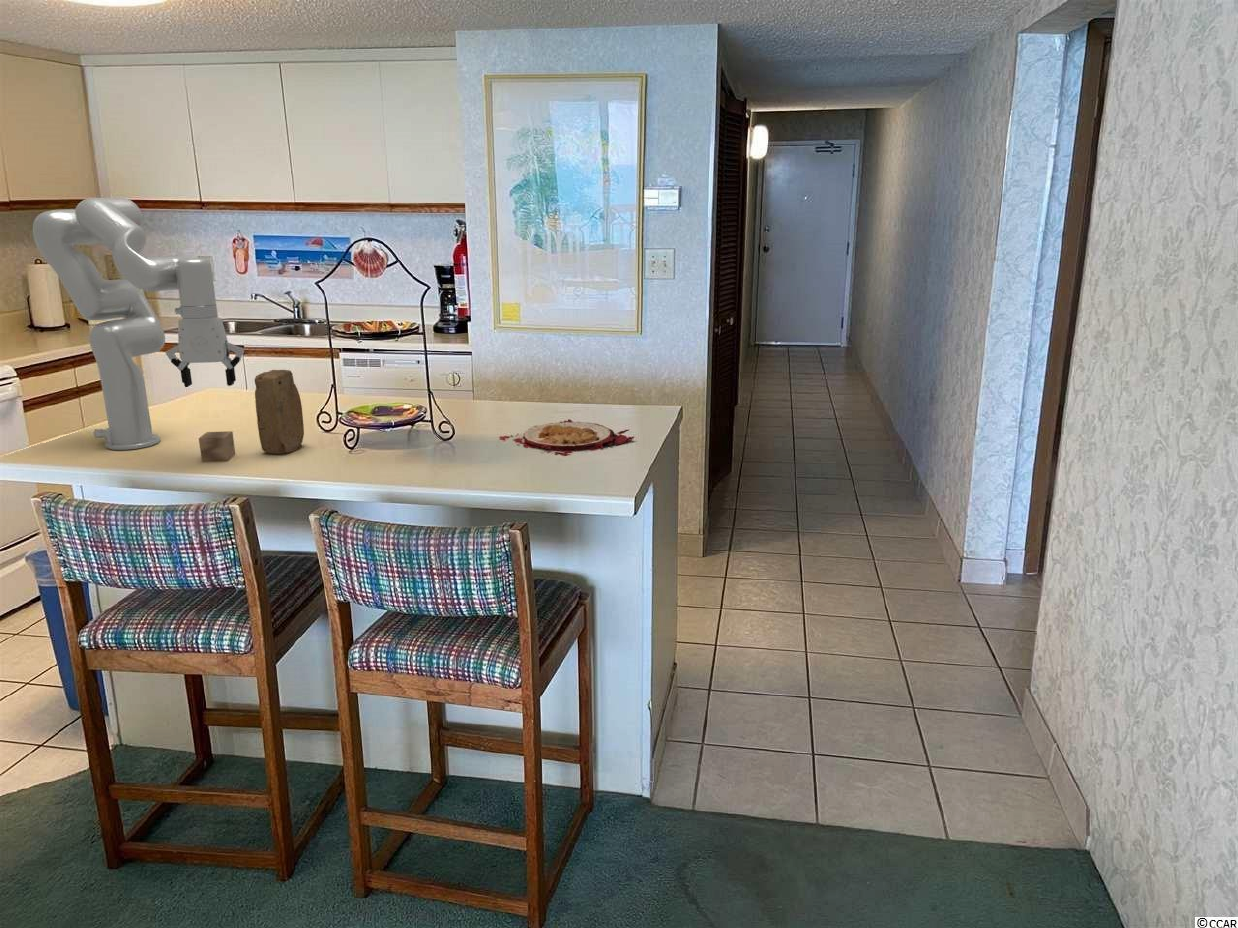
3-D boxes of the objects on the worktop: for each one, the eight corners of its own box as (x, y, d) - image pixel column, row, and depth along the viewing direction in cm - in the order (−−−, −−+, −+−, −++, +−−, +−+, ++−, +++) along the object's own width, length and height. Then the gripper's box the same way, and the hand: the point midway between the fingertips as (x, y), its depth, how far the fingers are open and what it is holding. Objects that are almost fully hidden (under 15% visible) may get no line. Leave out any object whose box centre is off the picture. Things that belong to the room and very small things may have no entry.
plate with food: (569, 426, 249) (569, 413, 248) (634, 442, 231) (634, 428, 230) (498, 443, 234) (497, 430, 233) (561, 461, 215) (560, 447, 214)
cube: (202, 462, 212) (198, 438, 211) (210, 455, 218) (206, 432, 216) (228, 461, 213) (224, 437, 211) (235, 454, 219) (232, 431, 217)
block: (283, 456, 217) (274, 376, 211) (257, 454, 219) (248, 374, 213) (310, 445, 227) (302, 368, 221) (285, 443, 229) (276, 366, 223)
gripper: (154, 315, 201) (165, 389, 206) (233, 314, 203) (243, 387, 208) (166, 311, 208) (177, 383, 213) (243, 310, 210) (251, 381, 215)
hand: (209, 385), depth 210 cm, fingers open, 9 cm apart
